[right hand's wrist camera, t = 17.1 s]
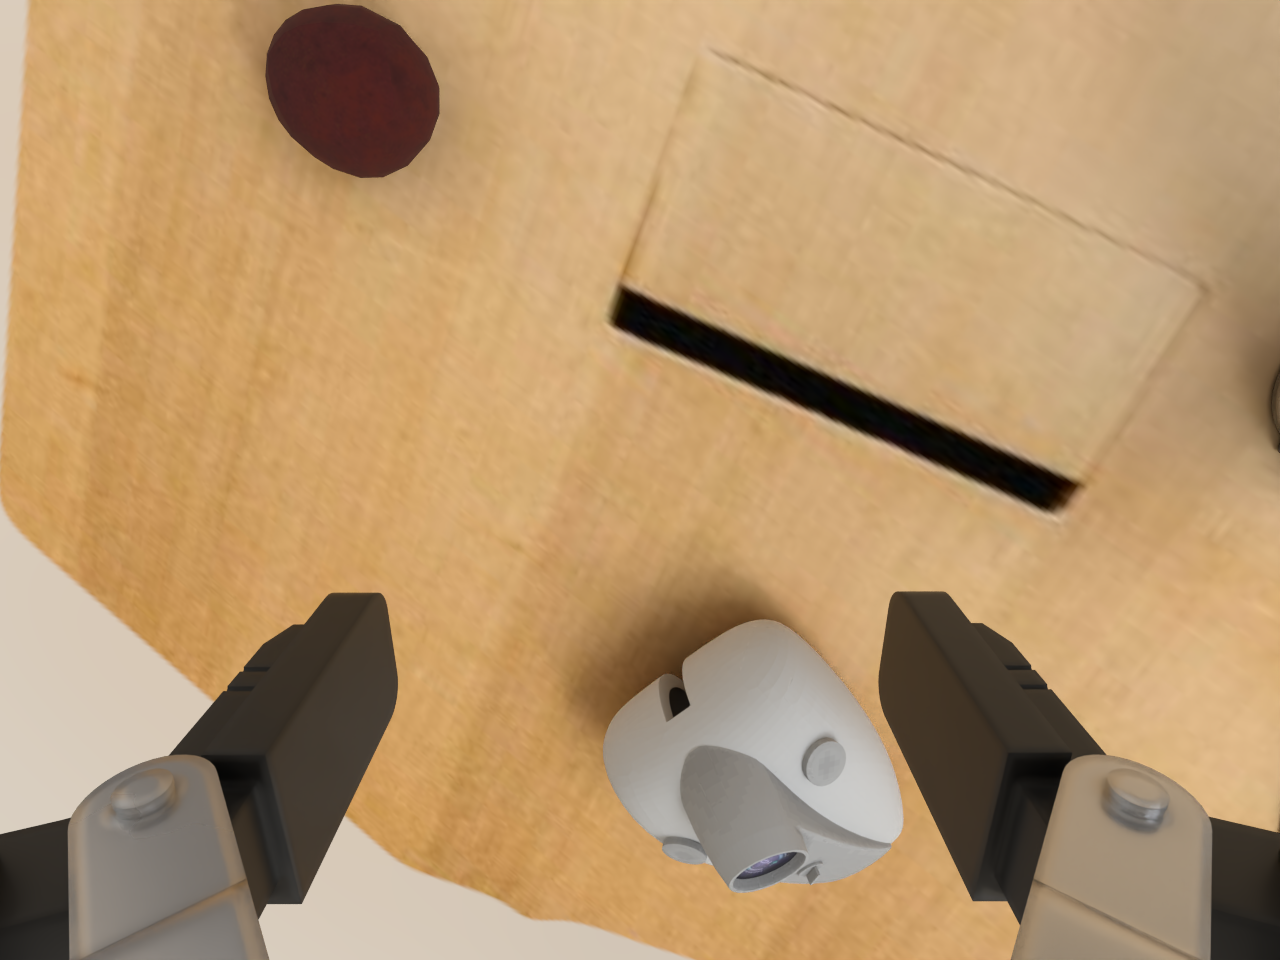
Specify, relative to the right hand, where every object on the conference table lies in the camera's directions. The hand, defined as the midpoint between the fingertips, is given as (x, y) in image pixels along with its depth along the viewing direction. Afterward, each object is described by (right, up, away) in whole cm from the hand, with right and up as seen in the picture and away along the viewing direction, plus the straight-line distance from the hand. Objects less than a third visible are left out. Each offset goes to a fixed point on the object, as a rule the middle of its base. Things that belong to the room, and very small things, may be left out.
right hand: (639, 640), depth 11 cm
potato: (-14, +23, +27) cm, 37 cm away
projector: (+10, -16, +42) cm, 46 cm away
